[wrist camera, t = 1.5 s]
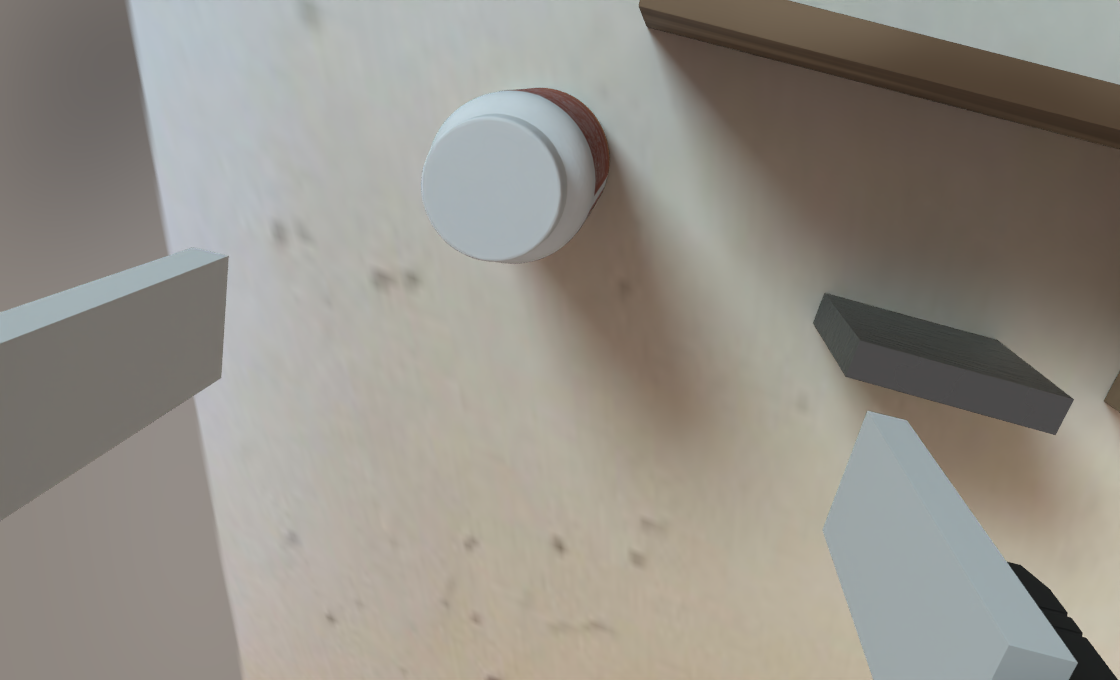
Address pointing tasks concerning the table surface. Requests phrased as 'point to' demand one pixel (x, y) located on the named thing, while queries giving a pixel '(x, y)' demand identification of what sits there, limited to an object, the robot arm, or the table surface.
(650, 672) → the table surface
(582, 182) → the pill bottle
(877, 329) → the dark rectangular block
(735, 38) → the wooden corner wall
